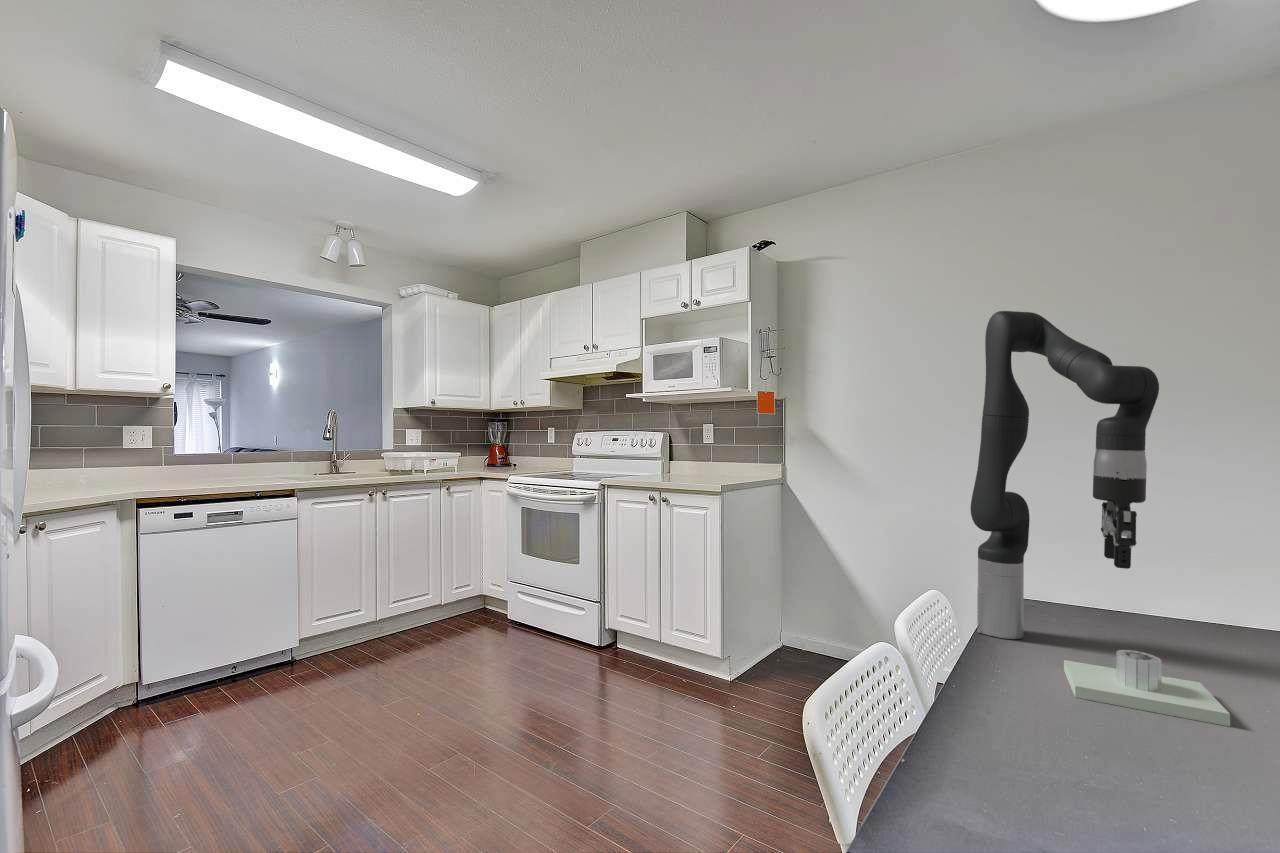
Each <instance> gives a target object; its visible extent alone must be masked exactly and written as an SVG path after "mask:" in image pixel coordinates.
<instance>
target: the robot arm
mask: <svg viewBox="0 0 1280 853" xmlns="http://www.w3.org/2000/svg"><path fill="white" fill-rule="evenodd" d="M984 338H985V339H984V340H985V341H984V346H985V348H984V349H985V350H984V352H985V383H984V384H985V385H984V386H985V388H984V397H983V398H984V399H983V408H982V414H981V415H982V417H981V428H980V429H981V431H980V432H981V433H980V443H979V454H978V463H977V471H976V475H975V480H974V486H973V490H972V495H971V501H970V516H971V520H972V522H973V523H974V525H975V526H976V527H977V528H979V530H981V531H984V532H991V533H990V535H989V537H988V538H987V540H986V541H984V542H983V543H981V544H980V545H979V546H978V548H977V595H976V596H977V599H976V600H977V601H976V602H977V603H976V604H977V608H976V611H977V613H976V614H977V615H976V616H977V617H976V619H977V620H976V621H977V622H976V623H977V625H976V628H978V626H979V625H980V626H979V628H978V630H977V633H978V634H984V635H986V636H990V637H994V638H999V639H1003V640H1006V639H1007V640H1019V639H1023V637H1024V597H1025V596H1024V593H1025V592H1024V587H1025V586H1024V580H1025V578H1024V575H1025V574H1024V569H1025V568H1024V563H1025V561H1024V559H1025V554H1026V553H1027V550H1028V546H1029V536H1030V509H1029V506H1028V503H1027V501H1026V500H1025V498H1024V497H1023V496H1022V495H1021V494H1019V493H1017V492H1014V491H1006V490H1007V489H1006V488H1007V479H1008V475H1009V472H1010V470H1011V467H1012V465H1013V463H1014V462H1015V461H1016V459H1017V457H1018V456H1019V454H1020V452H1021V450H1022V449H1023V447H1024V444H1025V443H1026V440H1027V437H1028V430H1029V419H1030V408H1029V406H1028V402H1027V399H1026V398H1025V396H1024V394H1023V392H1022V391H1021V389H1020V387H1019V385H1018V383H1017V382H1016V379H1015V376H1014V373H1013V368H1012V367H1013V366H1012V353H1027V352H1030V353H1034V354H1037V355H1041V356H1044V357H1046V358H1047V363H1048V364H1049V366H1050V367H1051V369H1052V370H1053V371H1055V372H1056V373H1058V375H1060V376H1062V377H1064V378H1066V379H1067V380H1070V381H1071V382H1073V383H1075V384H1076V386H1077V387H1078V388H1079V389H1080V390H1081V392H1082V393H1083V394H1084V395H1085V396H1086V397H1087V398H1089V400H1092V401H1094V402H1097V403H1100V404H1105V405H1119V406H1118V409H1117V410H1116V411H1117V412H1116V413H1115V415H1114V416H1110V417H1105V418H1101V419H1100V420H1099V421H1098V422H1097V424H1096V429H1095V430H1096V432H1095V436H1096V437H1095V452H1094V458H1093V468H1092V469H1093V474H1092V476H1093V478H1092V497H1093V498H1094V499H1095V500H1099V501H1102V504H1101V507H1102V508H1101V527H1100V531H1101V533H1102V536H1103V538H1104V539H1103V540H1104V544H1103V545H1104V546H1103V547H1104V548H1103V556H1104V557H1105V558H1106V559H1110V560H1111V559H1112V560H1113V565H1114V566H1115V567H1116V569H1117V568H1118V569H1126V570H1128V569H1130V568H1132V567H1131V565H1132V564H1131V563H1132V562H1131V561H1132V548H1133V547H1135V546H1136V545H1137V540H1136V539H1137V516H1138V514H1137V511H1136V510H1131V504H1133V503H1135V504H1141V503H1144V502H1145V501H1146V498H1147V496H1146V495H1147V471H1148V470H1147V469H1148V468H1147V467H1148V466H1147V458H1146V457H1147V456H1146V434H1147V433H1146V432H1147V431H1146V429H1147V425H1148V423H1149V422H1150V419H1151V417H1152V415H1153V414H1152V413H1153V410H1154V409H1155V405H1156V402H1157V400H1158V396H1159V394H1160V392H1159V391H1160V383H1159V379H1158V377H1157V375H1156V373H1155V372H1154V371H1153V370H1151V369H1150V368H1149V367H1145V366H1138V365H1137V366H1136V365H1113V362H1112V360H1111V359H1110V357H1108V356H1107V355H1106V354H1104V353H1103V352H1101V351H1099V350H1097V349H1094V348H1093V347H1090V346H1088V345H1085V344H1084V343H1081V342H1079V341H1077V340H1075V339H1073V338H1071V337H1070V336H1069V335H1067V334H1065V333H1064V332H1063V331H1061V330H1060V329H1059V328H1057V327H1056V326H1055V325H1054V324H1052V323H1051V322H1050V321H1049V320H1047V319H1046V318H1045V317H1043V315H1042V316H1041V315H1040V314H1038V313H1036V312H1033V311H1032V312H1030V311H1015V310H1014V311H1011V310H999V311H997V312H995V313H994V314H992V315H991V317H990V318H989V320H988V322H987V325H986V329H985V337H984ZM1104 501H1105V502H1104Z"/></svg>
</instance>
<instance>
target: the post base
mask: <svg viewBox="0 0 1280 853" xmlns="http://www.w3.org/2000/svg"><path fill="white" fill-rule="evenodd" d="M1130 657H1133V658H1137V659H1142V660H1147V657H1146V656H1143V655H1140V654H1130ZM1063 671H1064V673H1065V677H1066V678H1067V681H1068V683H1069V686H1070V688H1071V691H1072V693H1073V695H1074V698H1077V699H1081V700H1083V699H1084V700H1088V701H1093V702H1099V703H1103V704H1109V705H1114V706H1119V707H1124V708H1131V709H1135V710H1140V711H1146V712H1151V713H1157V714H1162V715H1167V716H1172V717H1178V718H1183V719H1189V720H1194V721H1199V722H1204V723H1210V724H1214V725H1215V724H1216V725H1219V726H1226V727H1231V714H1230V712H1229V711H1228V710H1227V709H1226V708H1225V706H1223V705H1222V703H1220V702H1219V701H1218V700H1217V698H1215V697H1214V696H1213V694H1212V693H1211V692H1210V691H1209V690H1208V689H1207V688H1206V687H1205V686H1204V685H1203V684H1202V682H1200V681H1199V682H1198V681H1193V680H1188V679H1180V678H1174V677H1170V676H1169V677H1168V676H1163V675H1162V690H1160V691H1158V692H1149V691H1143V690H1138V689H1134V688H1131V687H1127V686H1125V685H1123V684H1121V683H1119V682H1118V681H1117V679H1116V667H1115V668H1114V667H1107V666H1102V665H1097V664H1090V663H1083V662H1078V661H1072V660H1066V659H1064V660H1063Z"/></svg>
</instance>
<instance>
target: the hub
mask: <svg viewBox="0 0 1280 853" xmlns="http://www.w3.org/2000/svg"><path fill="white" fill-rule="evenodd" d="M1130 654H1140V655H1143V656H1146V657H1147V660H1142V659H1137V658H1133V657H1130ZM1115 656H1116V657H1115V658H1116V660H1115V663H1116V664H1115V669H1116V679H1117V681H1118V682H1119V683H1121V684H1123V685H1125V686H1127V687H1131V688H1134V689H1138V690H1143V691H1149V692H1158V691H1160V690H1162V676H1163V674H1162V673H1163V672H1162V670H1163V663H1162V662H1163V661H1162V659H1161V658H1160V657H1158V656H1155V655H1153V654H1150V653H1147V652H1143V651H1139V650H1133V649H1132V650H1131V649H1119V650H1116V652H1115Z"/></svg>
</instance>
